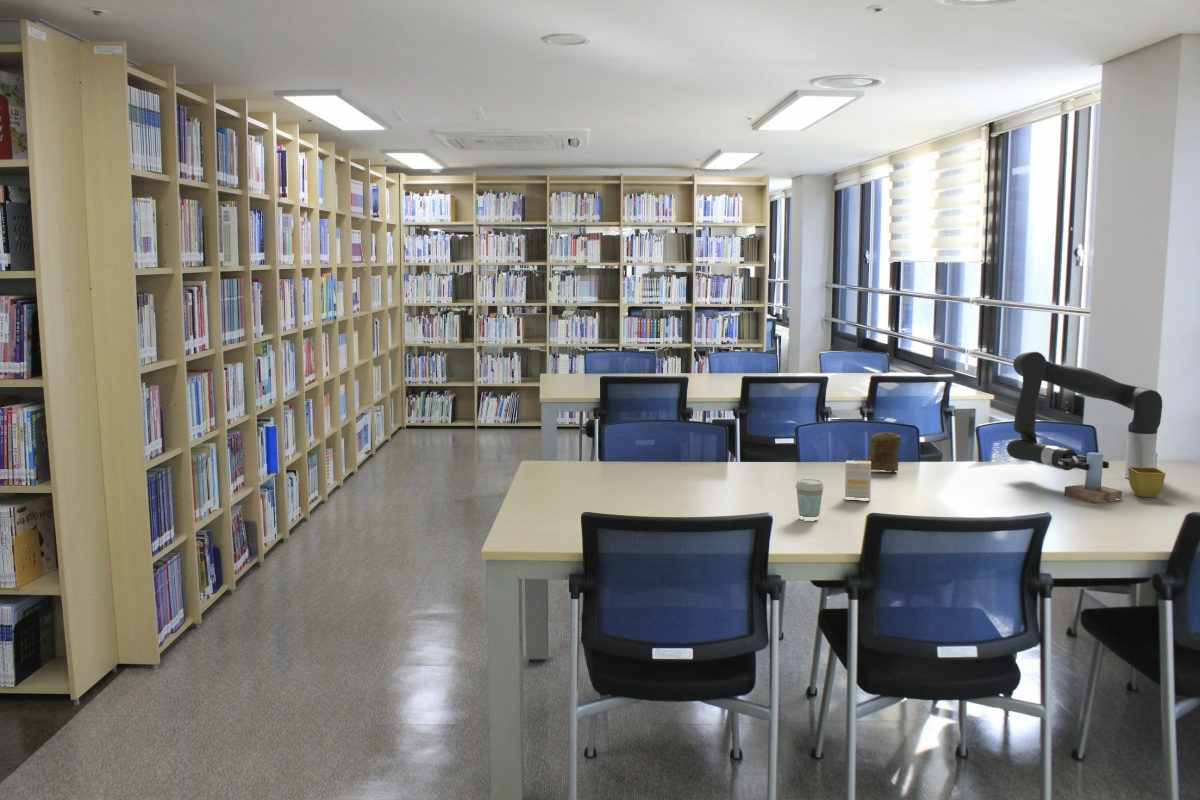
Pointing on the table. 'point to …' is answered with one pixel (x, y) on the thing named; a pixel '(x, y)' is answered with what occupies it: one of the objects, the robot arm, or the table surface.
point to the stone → (884, 451)
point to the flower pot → (1146, 481)
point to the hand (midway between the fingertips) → (1098, 466)
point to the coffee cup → (809, 497)
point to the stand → (1092, 493)
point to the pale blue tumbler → (1094, 471)
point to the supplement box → (858, 479)
